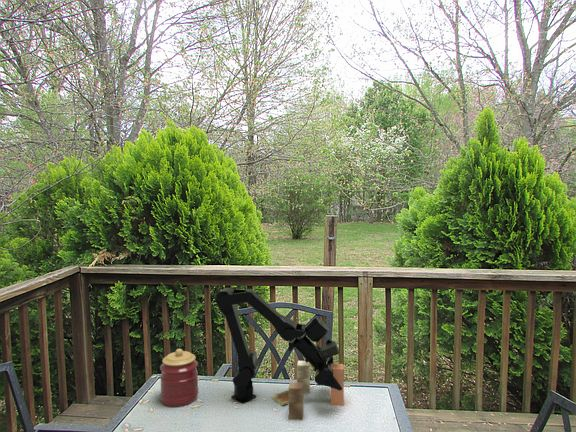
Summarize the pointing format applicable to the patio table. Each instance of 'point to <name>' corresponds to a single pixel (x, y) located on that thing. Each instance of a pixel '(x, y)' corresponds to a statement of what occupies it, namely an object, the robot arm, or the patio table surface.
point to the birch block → (304, 375)
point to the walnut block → (296, 401)
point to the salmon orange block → (338, 373)
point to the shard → (282, 398)
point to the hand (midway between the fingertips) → (341, 383)
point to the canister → (179, 379)
